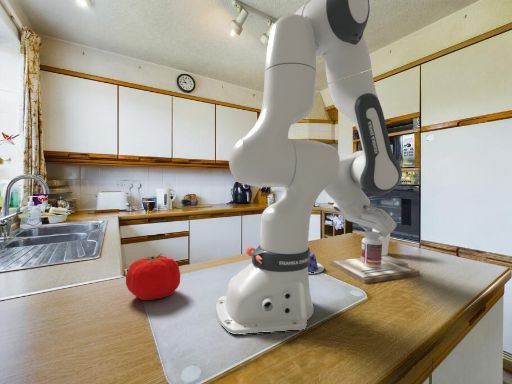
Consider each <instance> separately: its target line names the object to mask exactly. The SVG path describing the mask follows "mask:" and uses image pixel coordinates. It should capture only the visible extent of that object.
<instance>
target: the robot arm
mask: <svg viewBox="0 0 512 384" xmlns="http://www.w3.org/2000/svg"><path fill="white" fill-rule="evenodd" d="M369 17H370V0H308V1H307V2H306V3H304V4H303V5H302V6H301V7H299V8H298V9H297V11H295V12H294V13H292V14H290V13H289V14H287V15H284V16H281V17H280V18H278V19H277V20H276V21H275V22H274V24H273V25H272V27H271V30H270V32H269V37H268V43H267V47H266V54H265V63H264V79H263V80H264V81H263V82H264V83H263V84H264V85H263V96H262V97H263V98H262V103H261V104H262V105H261V110H260V113H259V115H258V117H257V121H256V122H255V123H254V125H253V127H252V128H251V129H250V130H249V132H247V134H245V135H243V137H241V138H239V139H238V140H237V141H236V143H235V144H234V145H233V147H232V149H231V150H230V153H229V157H228V158H229V159H228V165H229V171H230V173H231V175H232V177H233V178H234V179H235V180H236V182H238V183H239V184H242V185H246V186H252V187H256V188H283V191H282V196H281V197H280V198H279V199H278V200H277V201H276V202H274V203H272V204H270V205H268V206H267V207H266V208H265V209H264V210H263V211H262V214H261V216H260V232H259V234H260V237H259V242H260V243H259V245H258V247H256V248H254V246H252V245H249V246H247V247H246V248H245V253H246V254H247V255H248V256H249V257H251V262H250V263H249V264H247V266H246V267H244V268H243V269H242V270H240V271H239V272H238V273H237V274H235V275H234V276H233V277H232V278H231V279H230V280H229V282H228V284H227V289H226V295H222V296H220V297H219V298H218V299H217V301H216V306H215V313H217V314H216V317H218V318H217V320H218V319H219V320H218V322H219V321H220V322H219V324H220V323H221V324H222V326H223V327H224V328H225V329H227V330H228V331H230V332H232V333H236V334H238V333H250V332H251V333H252V332H262V331H281V330H282V331H283V330H284V331H285V330H299V331H303V330H302V329H304V330H306V329H307V327H306V326H308V321H309V319H310V318H311V317H312V316H313V314H314V308H315V307H314V305H313V304H314V303H313V300H312V295H311V291H310V290H311V289H310V279H309V272H308V270H309V266H310V252H311V249H310V247H309V237H310V236H309V235H310V234H309V233H310V224H311V215H312V211H313V208H314V206H315V204H316V202H317V199H319V198H318V197H319V196H320V195H321V194H322V192H323V191H325V192H326V194H327V195H328V196H329V198H331V199H332V200H333V201H335V202H334V203H333V205H332V207H331V208H333V210H335V211H337V213H339V215H340V216H341V217H342V218H343V219H345V220H346V221H347V222H350V223H354V224H357V225H359V227H360V228H362V229H364V231H372V229H375V230H378V231H380V232H379V234H380V235H381V236H383V237H386V236H387V235H388V234H390V235H391V233H393V232H394V230H396V228H397V225H398V224H397V223H396V221H395V220H394V219H393V218H392V217H391V215H390V214H389V213H388V212H386V211H385V210H384V209H383V208H380V207H375V206H371V200H370V199H369V197H368V195H366V193H365V192H364V191H363V189H364V190H365V191H366V192H367V193H368V194H371V195H374V196H383V195H386V194H389V193H390V192H392V191H393V190H394V189H395V188H396V187H397V186H398V185H399V183H400V181H401V178H402V174H403V170H402V167H401V165H400V163H399V162H398V160H397V159H396V157H395V155H394V153H393V150H392V146H391V142H390V137H389V133H388V129H387V125H386V124H387V122H386V120H385V115H384V110H383V108H382V105H381V102H380V100H379V97H378V93H377V90H376V86H375V81H374V77H373V76H374V75H373V74H374V73H373V70H372V67H373V66H372V62H371V61H372V60H371V57H370V53H369V49H368V45H367V42H366V39H365V36H364V32H365V30H366V28H367V24H368V22H369ZM319 55H322V58H323V59H324V65H325V67H324V68H325V75H326V82H327V87H328V91H329V96H330V98H331V101H332V104H333V105H334V108H335V109H337V110H338V111H339V112H341V114H343V115H345V116H346V117H347V118H348V119H349V120H350V121H351V122H352V123H353V125H354V126H355V128H356V130H357V132H358V135H359V140H360V145H361V148H362V150H357V151H354V152H353V153H351V154H350V155H347V156H344V157H342V158H340V155H339V153H338V150H337V149H336V148H335V147H334V145H331V144H328V143H325V142H322V141H318V140H314V139H313V140H312V139H298V138H297V139H296V138H295V139H293V138H289V131H290V128H291V126H292V125H295V124H297V123H299V122H301V121H303V120H304V119H306V118H307V117H309V115H310V114H311V112H312V110H313V108H314V107H315V90H316V74H317V72H316V71H317V57H318V56H319ZM362 188H363V189H362ZM307 320H308V321H307ZM221 324H220V325H221ZM222 326H221V327H222ZM223 327H222V328H223ZM224 328H223V329H224ZM305 328H306V329H305ZM225 329H224V330H225ZM285 332H286V331H285Z"/></svg>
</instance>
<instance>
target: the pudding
mask: <svg viewBox="0 0 512 384" xmlns="http://www.w3.org/2000/svg"><path fill="white" fill-rule="evenodd" d="M316 257H317V256H316V255H315V254H314V252H312V251H310V266H309V270H308V273H311V271H313V272H314V271H315V272H314V273H313V274H319V273H321V272H323V271H324V270H325V267H324V266H323V265H322V264H321V263H319V262H317V258H316Z"/></svg>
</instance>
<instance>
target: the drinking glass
mask: <svg viewBox="0 0 512 384" xmlns="http://www.w3.org/2000/svg"><path fill="white" fill-rule="evenodd" d="M371 231H374V232H378V233H379V232H380V231H378V230H375V229H372V228H371ZM390 238H391V233H390V234H388V235H387V236H386V237H383V236H381V235H380V237H379V239H380V240H381V241H382V256H388V254H389V247H390V246H389V244H390Z"/></svg>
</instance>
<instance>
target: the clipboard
mask: <svg viewBox="0 0 512 384" xmlns="http://www.w3.org/2000/svg"><path fill="white" fill-rule="evenodd" d="M329 264H330V266H331V265H332V266H333V267H334V268H336V269H338V270H339V271H341V272H343V273H345V274H347V275H349V276H350V277H352V278H354V279H355V280H358V281H359V282H361V283H363V284H371V283H372V284H373V283H376V282H385V281H389V280H396V279H401V278H409V277H415V276H420V272H421V271H419V270H418V269H414V268H413V267H410V266H409V263H408V262H405V261H403V260H401V259H398V258H395V257H393V256H390V255H386V256H382V260H381V266H380V267H377V268H374V267H368V266H365V265H363V264H362V263H361V257H354V258H346V259H336V260H330V263H329Z"/></svg>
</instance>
